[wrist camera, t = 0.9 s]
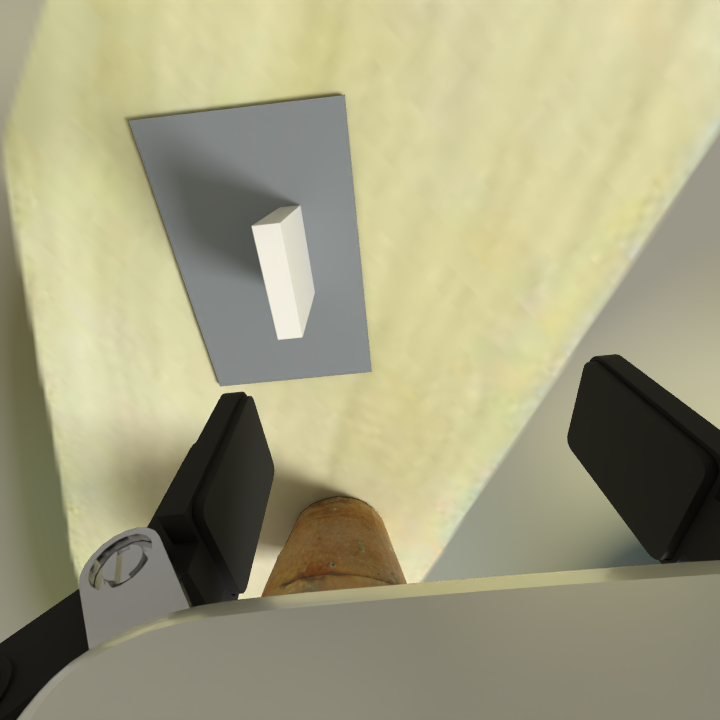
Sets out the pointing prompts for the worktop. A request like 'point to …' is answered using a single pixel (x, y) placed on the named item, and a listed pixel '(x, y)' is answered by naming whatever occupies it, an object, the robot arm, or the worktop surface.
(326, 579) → the potted plant
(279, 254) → the tile
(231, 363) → the mat
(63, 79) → the worktop surface
